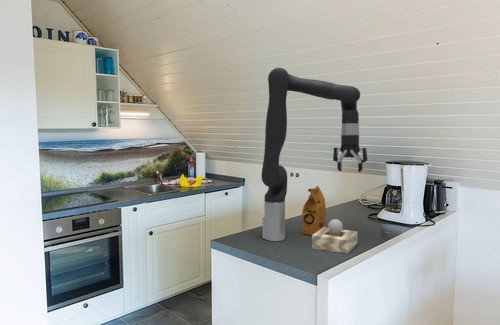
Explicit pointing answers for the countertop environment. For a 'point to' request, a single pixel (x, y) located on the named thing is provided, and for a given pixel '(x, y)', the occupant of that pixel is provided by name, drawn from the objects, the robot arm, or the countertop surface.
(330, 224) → the lightbulb
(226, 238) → the countertop surface
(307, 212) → the coffee package
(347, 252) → the block
